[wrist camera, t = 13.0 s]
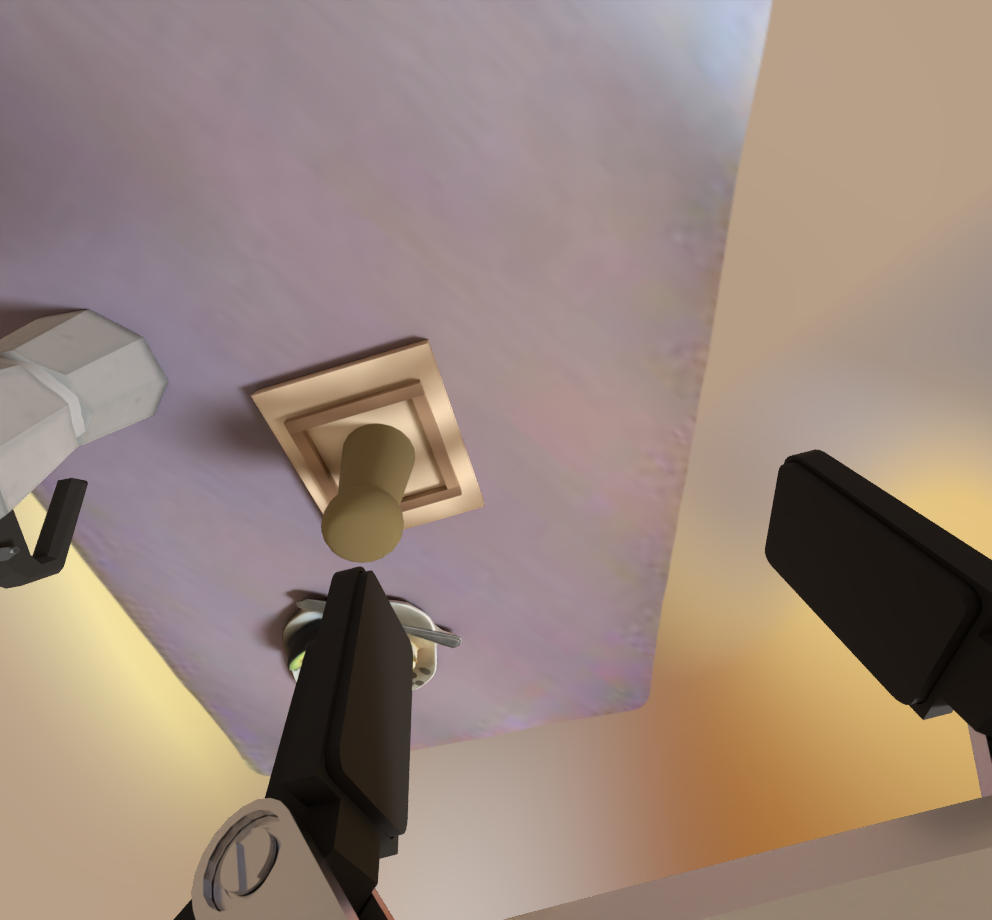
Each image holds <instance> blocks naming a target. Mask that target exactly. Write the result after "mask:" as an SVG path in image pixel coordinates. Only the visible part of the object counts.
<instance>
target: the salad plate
mask: <svg viewBox="0 0 992 920" xmlns="http://www.w3.org/2000/svg"><path fill="white" fill-rule="evenodd" d="M389 602H390V604H391V606H392V608H393V609H394V611H395V613H396V615H397V617H398V619H399V621H400V622H401V624H402V626H403V628H404V630H405V632H406V634H407V636H408V637H409V639H410V642H411V645H412V649H413V678H412V691H413V690H416V689H418V688H420V687H422V686H423V685H424V684H425V683H427V682H428V681H429V680H430V679H431V678H432V677H433V675H434V674H435V672H436V669H437V664H436V663H437V646H438V644H441V645H444V646H447V647H451V648H455V647H457V646H459V645H460V644H461V638H460V636H458V635H456V634H453V633H450V632H447V631H444V630H442V629H440V628H439V627H437V626H436V625H435V624H434V622H433V621H432V619H431V618H430V616H429V615H428V614H426V613H425V612H423V611H422V610H420V609H418V608H416V607H415V606H413V605H412V604H410V603H408V602H403V601H397V600H389ZM325 604H326V601H324V600H314V599H306V600H302V601H298V602H296V605H297V607H298V608H301V609H300V610H299V611H298V612H297V613H296V614H295V615H294V616H293V617H292V618H291V619H290V620H289V621H288V622H287V623H286V625H285V627H284V629H283V644H284V648H285V651H286V654H287V657H288V669H289V670H290V671H292V673H293V676H294V679H295V681H296V683H297V679H298V675H299V672H300V668H301V665H302V661H303V657H304V654H305V651H306V649H307V646H308V645H309V644H310V643H311V642H312V641H314V640H317V636H318V632H319V628H320V624H321V620H322V616H323V612H324V608H325Z"/></svg>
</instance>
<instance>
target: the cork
mask: <svg viewBox="0 0 992 920" xmlns="http://www.w3.org/2000/svg"><path fill="white" fill-rule="evenodd" d="M414 462H415V450H414V447H413V445H412V443H411V441H410V439H409V438H408V437H407V436H406V435H405V434H404V433H403V432H402V431H400V430H398V429H396V428H394V427H392V426H389V425H385V424H380V423H378V424H367V425H364V426H361V427H359V428H357V429H355V430H354V431H353V432H352V433H350V434H349V435H348V437H347V438H346V440H345V442H344V444H343V450H342V457H341V467H340V477H339V487H338V495H336V496H335V497H334V498H333V499H332V500H331V501H330V503H329V504H328V506H327V507H326V509H325V511H324V514H323V517H322V524H321V529H322V534H323V538H324V541H325V542H326V544H327V545H328V546H329V548H330V549H331V550H332V552H334V553H335V554H336V555H338V556H339V557H341V558H343V559H346V560H348V561H352V562H360V563H364V562H372V561H375V560H378V559H381V558H383V557H384V556H385V555H387V554H388V553H390V552H391V551H393V550H394V548H395V547H396V545H397V544H398V543H399V541H400V539H401V536H402V532H403V528H404V520H403V513H402V510H401V508H400V503H401V500H402V498H403V495H404V492H405V489H406V486H407V483H408V481H409V478H410V475H411V472H412V469H413V466H414Z"/></svg>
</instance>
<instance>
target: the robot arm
mask: <svg viewBox="0 0 992 920" xmlns="http://www.w3.org/2000/svg"><path fill="white" fill-rule="evenodd" d="M765 554H766V557H767V560H768V562H769V563H770V564H771V565H772V567H773V568H774V569H775V570H776V571H777V572H778V573H779V574H780V576H781V577H782V578H784V580H785V581H786V582H787V583H788V584H789V585H790V586H791V587H792V588H793V589H794V590H795V592H796V593H798V595H799V596H800V597H801V598H802V599H803V600H804V601H805V602H806V604H807V605H809V607H810V608H811V609H812V610H813V611H814V612H815V613H816V614H817V615H818V616H819V618H821V620H822V621H823V622H824V623H825V624H826V625H827V626H828V627H829V628H830V629H831V630H832V632H834V634H835V635H836V636H837V637H838V638H839V639H840V640H841V641H842V642H843V643H844V644H845V646H847V648H848V649H849V650H850V651H851V652H852V653H853V654H854V655H855V656H856V657H857V658H858V660H859V661H860V662H861V663H862V664H863V665H864V666H865V667H866V668H867V669H868V670H869V671H870V672H871V673H872V675H873V676H874V677H875V678H876V679H877V680H878V681H879V682H880V683H881V684H882V685H883V686H884V687H885V689H886V690H887V691H888V692H889V693H890V694H891V695H892V696H893V697H894V698H895V699H896V700H898V701H899V702H901V703H903V704H905V705H909V706H910V707H911V708H912V709H913V710H914V711H915V712H916V713H917V714H918V715H919V716H920V717H921V718H922V719H923V720H925V719H929V718H933V717H936V716H941V715H945V714H949V713H951V712H952V711H953V710H954V711H955V712H956V713H958V714H959V716H960V717H962V718H963V719H964V720H965V721H966V722H967V723H968V728H969V733H970V738H971V743H972V748H973V754H974V759H975V763H976V769H977V774H978V779H979V785H980V789H981V795H982V798H978V799H974V800H970V801H966V802H962V803H958V804H954V805H950V806H946V807H942V808H938V809H934V810H930V811H926V812H922V813H918V814H914V815H910V816H906V817H902V818H898V819H894V820H890V821H886V822H882V823H878V824H874V825H870V826H866V827H862V828H858V829H854V830H850V831H846V832H842V833H838V834H834V835H830V836H826V837H823V838H818V839H815V840H810V841H806V842H802V843H798V844H794V845H791V846H787V847H783V848H779V849H775V850H771V851H767V852H763V853H760V854H755V855H751V856H747V857H743V858H740V859H736V860H732V861H728V862H724V863H720V864H716V865H712V866H708V867H704V868H700V869H696V870H692V871H689V872H685V873H681V874H677V875H673V876H669V877H665V878H661V879H658V880H654V881H650V882H646V883H642V884H638V885H634V886H631V887H627V888H623V889H619V890H615V891H611V892H608V893H604V894H600V895H596V896H592V897H588V898H584V899H580V900H577V901H573V902H569V903H565V904H562V905H558V906H554V907H550V908H546V909H542V910H538V911H534V912H530V913H527V914H523V915H519V916H515V917H512V918H508V919H505V920H992V560H991V559H989V558H988V557H986V556H985V555H983V554H981V553H980V552H978V551H977V550H975V549H974V548H972V547H971V546H969V545H967V544H966V543H964V542H963V541H961V540H960V539H958V538H957V537H955V536H954V535H952V534H950V533H949V532H947V531H946V530H944V529H943V528H941V527H940V526H938V525H936V524H935V523H933V522H932V521H930V520H929V519H927V518H925V517H924V516H923V515H921V514H919V513H918V512H916V511H915V510H913V509H912V508H910V507H909V506H907V505H906V504H904V503H902V502H901V501H899V500H898V499H896V498H895V497H893V496H892V495H890V494H888V493H887V492H885V491H884V490H882V489H881V488H879V487H878V486H876V485H874V484H873V483H871V482H870V481H868V480H867V479H865V478H863V477H862V476H861V475H859V474H857V473H856V472H854V471H853V470H851V469H850V468H848V467H846V466H845V465H843V464H842V463H840V462H839V461H837V460H836V459H834V458H833V457H831V456H829V455H828V454H826V453H825V452H823V451H821V450H812V451H808V452H804V453H800V454H796V455H792V456H789V457H787V459H786V460H785V462H784V465H781V467H780V468H779V471H778V477H777V483H776V489H775V495H774V500H773V506H772V511H771V517H770V523H769V529H768V535H767V540H766V546H765ZM412 678H413V649H412V645H411V642H410V639H409V637H408V636H407V634H406V632H405V630H404V628H403V626H402V624H401V622H400V621H399V619H398V617H397V615H396V613H395V611H394V609H393V608H392V606H391V604H390V602H389V600H388V598H387V596H386V595H385V593H384V591H383V589H382V587H381V585H380V583H379V581H378V580H377V578H376V576H375V574H374V573H373V571H365V569H364V568H363V567H356V568H352V569H348V570H344V571H340V572H336V573H335V574H334V575H333V578H332V581H331V585H330V589H329V593H328V597H327V601H326V604H325V608H324V612H323V616H322V620H321V624H320V628H319V632H318V636H317V640H314V641H312V642H311V643H310V644H309V645H308V646H307V649H306V651H305V654H304V657H303V661H302V665H301V668H300V672H299V675H298V679H297V683H296V686H295V690H294V694H293V697H292V701H291V705H290V708H289V712H288V716H287V719H286V723H285V727H284V730H283V734H282V738H281V741H280V745H279V748H278V752H277V756H276V759H275V763H274V767H273V770H272V774H271V778H270V782H269V785H268V789H267V792H266V796H265V799H259V800H255V801H253V802H252V803H249V804H248V805H245V806H243V807H242V808H241V809H239V810H238V811H237V812H236V813H235V814H233V815H232V816H231V817H230V818H228V820H227V821H226V822H225V823H224V824H223V825H222V827H221V828H220V829H219V830H218V831H217V832H216V833H215V835H214V836H213V838H212V840H211V841H210V843H209V844H208V846H207V848H206V849H205V851H204V853H203V855H202V857H201V860H200V862H199V865H198V867H197V870H196V872H195V876H194V881H193V887H192V893H191V894H192V899H191V900H190V902H189V903H188V904H187V905H186V906H185V907H184V908H183V909H182V911H181V912H180V913H179V914H178V915H177V916H176V918H175V919H174V920H394V918H393V916H392V915H391V913H390V911H389V910H388V908H387V907H386V905H385V903H384V902H383V900H382V899H381V897H380V895H379V894H378V892H377V890H376V889H375V887H376V885H377V883H378V871H379V859H380V858H384V857H388V856H392V855H395V854H398V835H401V834H404V833H405V831H406V827H407V819H408V817H407V816H408V791H409V790H408V789H409V761H410V734H411V706H412Z"/></svg>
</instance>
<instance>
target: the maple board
mask: <svg viewBox="0 0 992 920" xmlns="http://www.w3.org/2000/svg"><path fill="white" fill-rule="evenodd" d="M251 397H252V398H253V400H254V402H255V403H256V405H257V407H258V408H259V410H260V412H261V413H262V415H263V416H264V418H265V420H266V421H267V423H268V425H269V426H270V428H271V430H272V431H273V433H274V434H275V436H276V438H277V439H278V441H279V443H280V444H281V446H282V448H283V449H284V451H285V452H286V454H287V456H288V457H289V459H290V461H291V462H292V464H293V466H294V467H295V469H296V470H297V472H298V474H299V475H300V477H301V479H302V480H303V482H304V484H305V485H306V487H307V489H308V490H309V492H310V493H311V495H312V497H313V498H314V500H315V502H316V503H317V505H318V507H319V508H320V510H321V511H322V513H323V514H324V511H325V509H326V507H327V506H328V504H329V503H330V501H331V500H332V499H333V498H334V497H335V496H336V495H338V487H339V477H340V467H341V457H342V450H343V444H344V442H345V440H346V438H347V437H348V435H349V434H350V433H352V432H353V431H354V430H355V429H357V428H359V427H361V426H364V425H367V424H378V423H380V424H385V425H389V426H392V427H394V428H396V429H398V430H400V431H402V432H403V433H404V434H405V435H406V436H407V437H408V438H409V439H410V441H411V443H412V445H413V447H414V450H415V462H414V466H413V469H412V472H411V475H410V478H409V481H408V483H407V486H406V489H405V492H404V495H403V498H402V500H401V503H400V508H401V510H402V513H403V520H404V528H403V530H404V529H407V528H411V527H414V526H418V525H421V524H425V523H428V522H432V521H435V520H439V519H442V518H446V517H449V516H453V515H456V514H460V513H463V512H467V511H470V510H474V509H477V508H481V507H484V500H483V497H482V494H481V491H480V488H479V485H478V482H477V479H476V476H475V474H474V471H473V468H472V465H471V462H470V459H469V456H468V453H467V450H466V448H465V445H464V442H463V439H462V436H461V433H460V430H459V427H458V424H457V422H456V419H455V416H454V413H453V410H452V407H451V404H450V401H449V398H448V396H447V393H446V390H445V387H444V384H443V381H442V378H441V375H440V372H439V370H438V367H437V364H436V361H435V358H434V355H433V352H432V349H431V346H430V344H429V341H428V339H427V340H423V341H420V342H417V343H413V344H410V345H407V346H403V347H400V348H397V349H393V350H390V351H387V352H383V353H380V354H376V355H373V356H370V357H366V358H363V359H360V360H356V361H353V362H350V363H346V364H343V365H340V366H336V367H333V368H330V369H326V370H323V371H320V372H316V373H313V374H309V375H306V376H303V377H299V378H296V379H293V380H289V381H286V382H283V383H279V384H276V385H273V386H269V387H266V388H263V389H259V390H256V391H255V393H254V394H253V395H252V396H251Z"/></svg>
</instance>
